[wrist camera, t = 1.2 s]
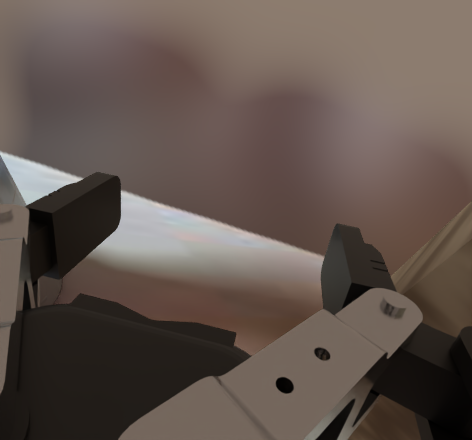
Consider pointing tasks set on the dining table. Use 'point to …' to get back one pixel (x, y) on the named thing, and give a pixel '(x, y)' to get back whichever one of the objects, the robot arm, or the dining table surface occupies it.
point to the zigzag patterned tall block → (429, 312)
